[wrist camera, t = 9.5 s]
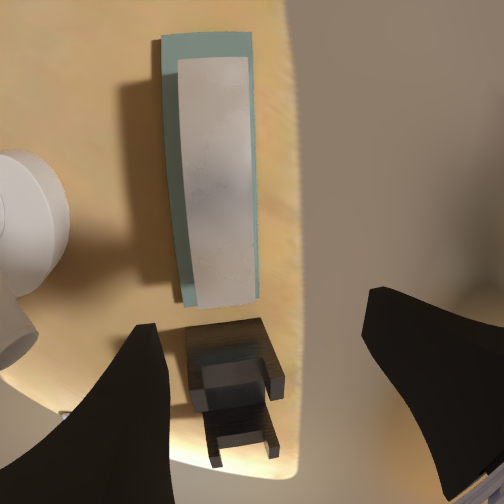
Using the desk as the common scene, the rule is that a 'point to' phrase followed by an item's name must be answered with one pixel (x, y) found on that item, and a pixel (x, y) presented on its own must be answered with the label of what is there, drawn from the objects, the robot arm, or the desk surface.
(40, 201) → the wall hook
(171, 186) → the rubber mat
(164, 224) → the desk surface
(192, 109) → the silver rail
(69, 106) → the desk surface
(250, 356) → the dark grey slotted rack
